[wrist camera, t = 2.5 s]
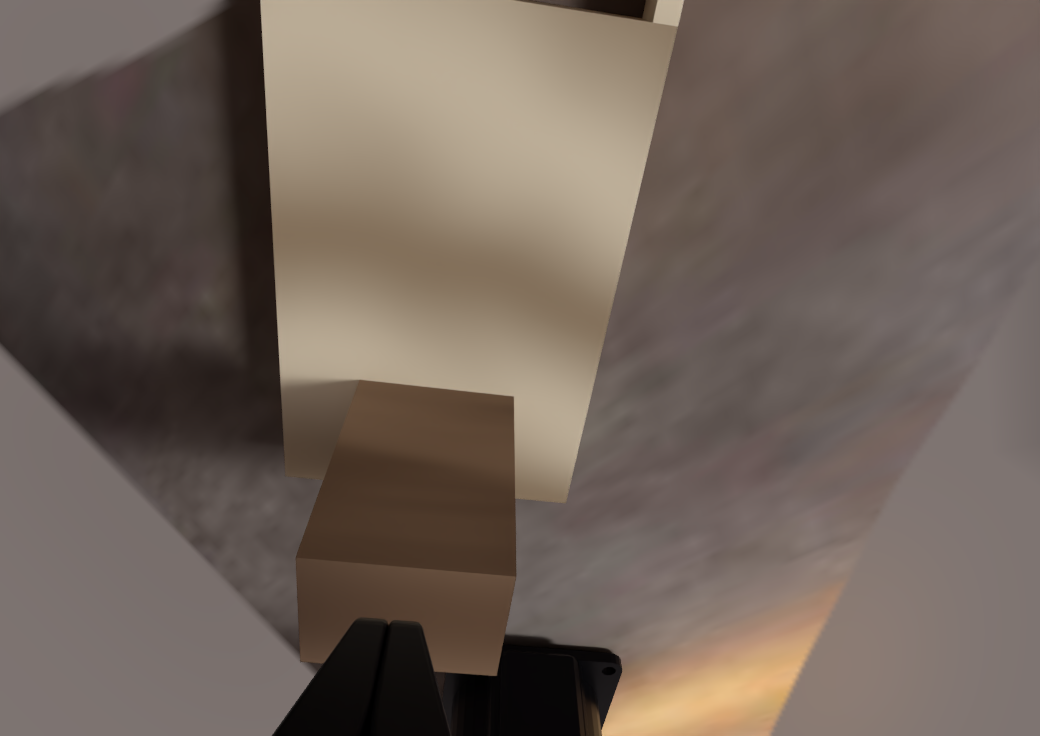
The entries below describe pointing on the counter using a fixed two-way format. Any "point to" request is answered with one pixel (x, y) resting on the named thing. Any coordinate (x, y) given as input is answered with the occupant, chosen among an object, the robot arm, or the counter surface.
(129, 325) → the counter surface
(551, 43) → the wooden stand
